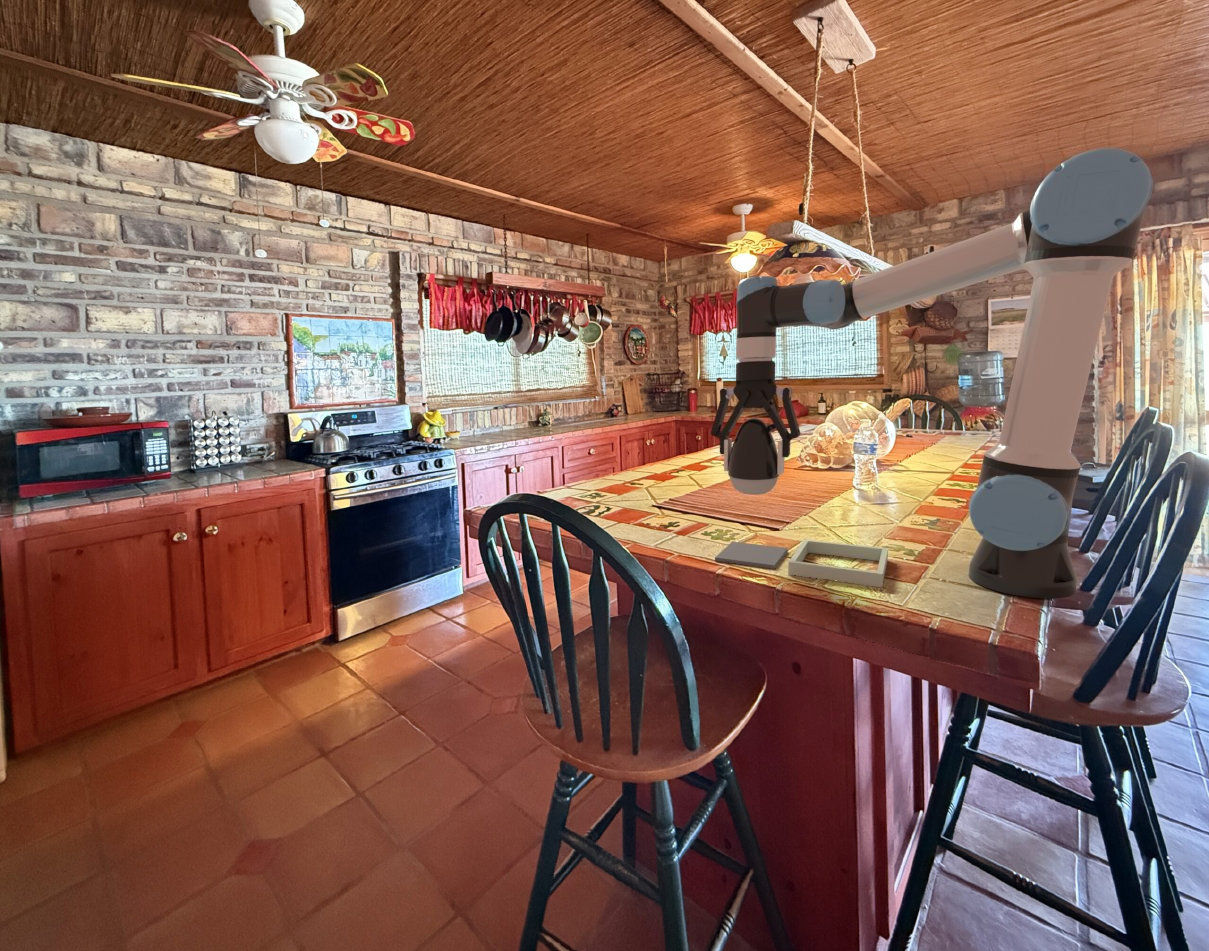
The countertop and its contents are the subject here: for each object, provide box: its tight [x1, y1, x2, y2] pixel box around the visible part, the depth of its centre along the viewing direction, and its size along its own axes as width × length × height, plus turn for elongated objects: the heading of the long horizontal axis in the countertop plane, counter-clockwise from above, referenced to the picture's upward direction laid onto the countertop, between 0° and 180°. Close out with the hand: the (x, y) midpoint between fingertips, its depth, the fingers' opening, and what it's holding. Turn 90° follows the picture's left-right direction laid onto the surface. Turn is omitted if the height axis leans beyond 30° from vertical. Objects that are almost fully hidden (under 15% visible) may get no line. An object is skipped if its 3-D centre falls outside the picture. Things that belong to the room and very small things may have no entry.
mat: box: [714, 541, 788, 570], centre depth 117 cm, size 12×12×1 cm
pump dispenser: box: [727, 417, 781, 496], centre depth 114 cm, size 10×10×15 cm
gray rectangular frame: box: [787, 539, 889, 589], centre depth 109 cm, size 16×16×2 cm
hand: (753, 471), depth 114 cm, fingers closed on pump dispenser, 10 cm apart
